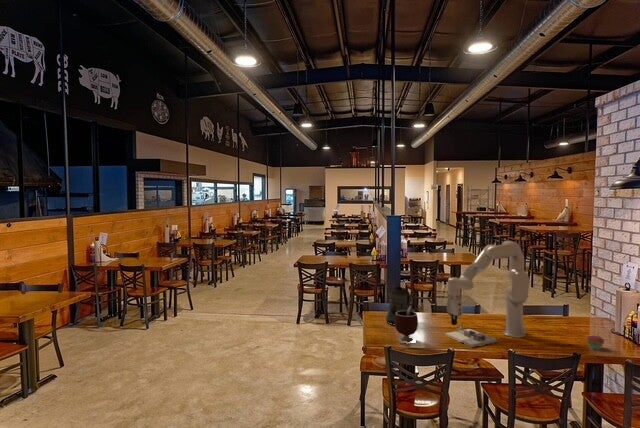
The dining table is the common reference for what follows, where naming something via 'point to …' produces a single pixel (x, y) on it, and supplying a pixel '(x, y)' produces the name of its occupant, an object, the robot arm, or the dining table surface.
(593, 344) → the cupcake
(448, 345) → the dining table surface
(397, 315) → the mate gourd
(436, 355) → the dining table surface
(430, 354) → the dining table surface
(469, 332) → the bolt
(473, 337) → the grey flat board
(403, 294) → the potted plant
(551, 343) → the dining table surface
